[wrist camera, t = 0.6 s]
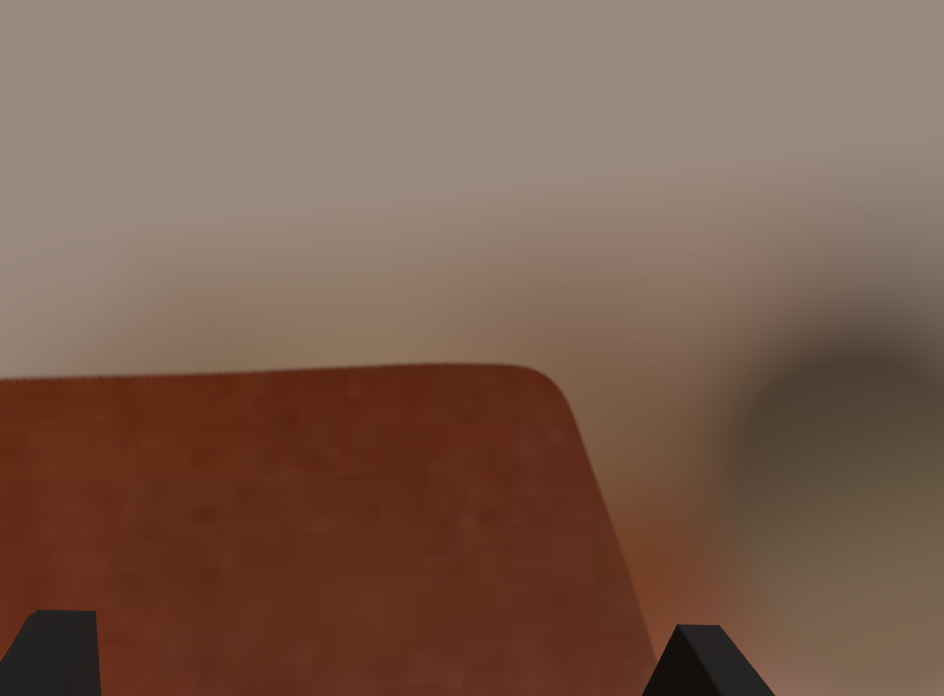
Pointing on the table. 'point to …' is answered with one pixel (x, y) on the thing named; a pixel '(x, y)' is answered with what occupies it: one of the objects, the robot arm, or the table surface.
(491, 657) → the table surface
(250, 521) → the table surface
